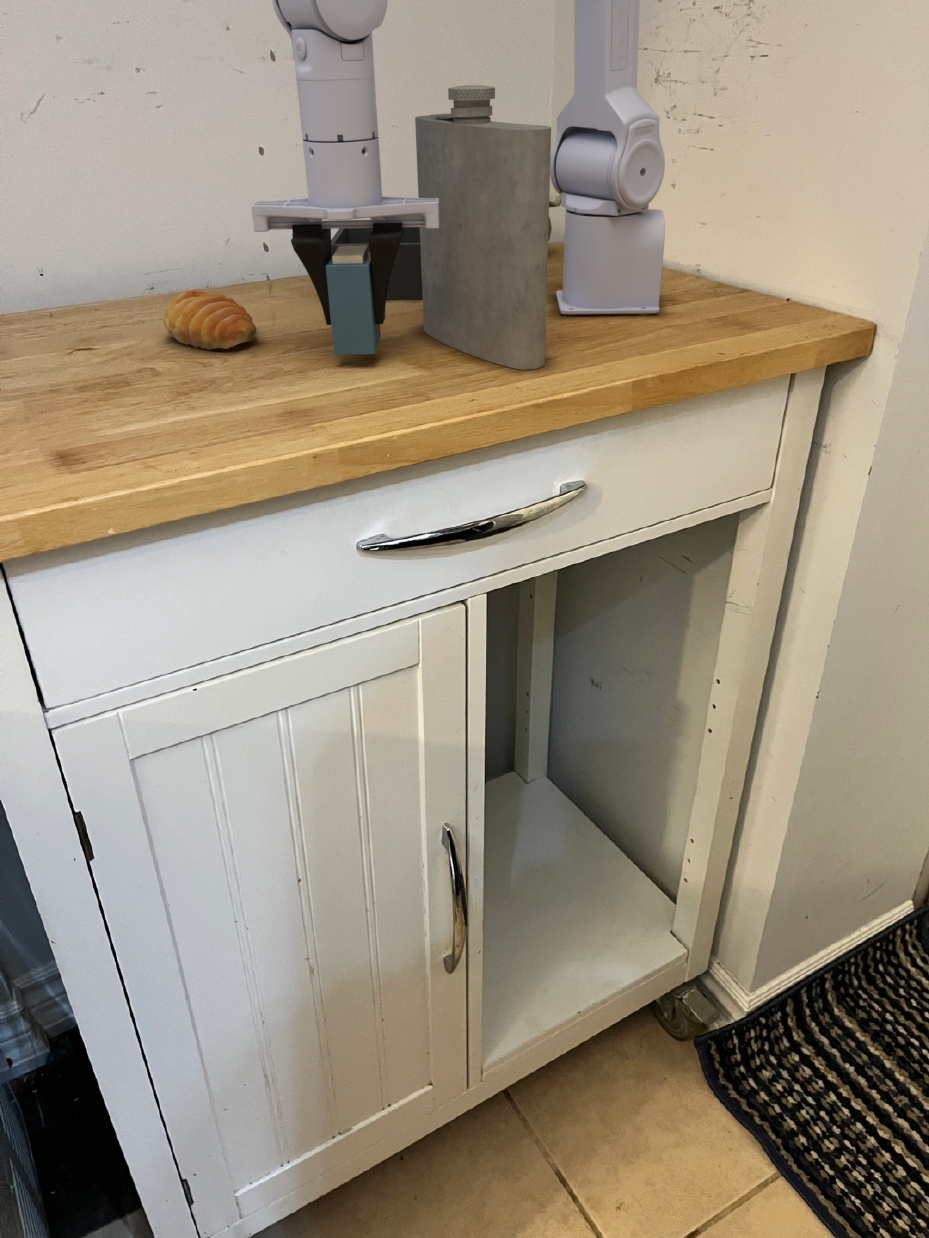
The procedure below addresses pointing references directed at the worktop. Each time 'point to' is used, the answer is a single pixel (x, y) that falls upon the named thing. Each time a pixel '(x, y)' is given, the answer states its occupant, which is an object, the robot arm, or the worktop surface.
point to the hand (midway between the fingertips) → (355, 321)
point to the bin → (405, 266)
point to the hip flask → (485, 230)
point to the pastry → (208, 320)
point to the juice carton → (352, 301)
